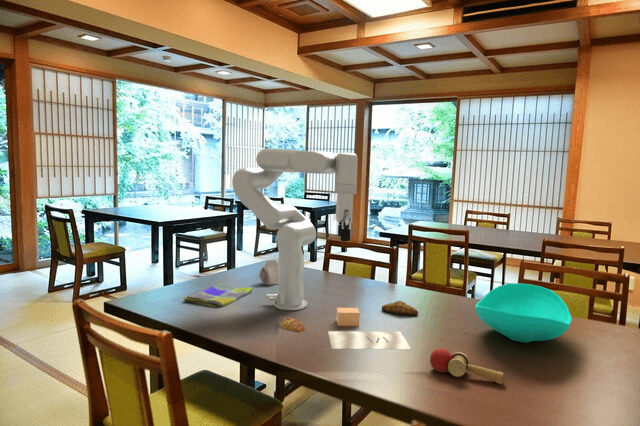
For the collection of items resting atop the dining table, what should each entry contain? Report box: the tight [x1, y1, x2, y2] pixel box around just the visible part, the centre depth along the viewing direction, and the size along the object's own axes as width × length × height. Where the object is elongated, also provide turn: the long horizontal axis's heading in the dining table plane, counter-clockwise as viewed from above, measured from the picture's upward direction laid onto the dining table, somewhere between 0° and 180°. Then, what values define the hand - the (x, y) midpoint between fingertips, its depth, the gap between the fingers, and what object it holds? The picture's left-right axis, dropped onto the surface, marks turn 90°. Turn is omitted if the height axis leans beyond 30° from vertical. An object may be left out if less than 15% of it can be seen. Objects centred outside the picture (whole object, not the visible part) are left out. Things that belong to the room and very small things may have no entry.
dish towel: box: [183, 282, 254, 309], centre depth 173 cm, size 18×24×3 cm
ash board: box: [327, 330, 412, 350], centre depth 130 cm, size 23×13×2 cm, turn 93°
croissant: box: [381, 300, 419, 317], centre depth 159 cm, size 14×7×5 cm, turn 70°
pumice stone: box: [259, 259, 279, 286], centre depth 196 cm, size 15×8×10 cm, turn 143°
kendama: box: [429, 348, 504, 385], centre depth 112 cm, size 8×6×18 cm
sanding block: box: [335, 307, 361, 327], centre depth 143 cm, size 7×5×6 cm
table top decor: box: [474, 282, 573, 343], centre depth 138 cm, size 40×28×13 cm
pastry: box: [278, 317, 307, 333], centre depth 138 cm, size 9×7×4 cm
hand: (343, 238), depth 150 cm, fingers open, 9 cm apart
